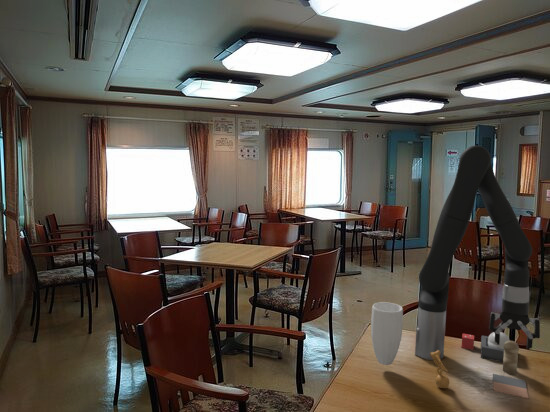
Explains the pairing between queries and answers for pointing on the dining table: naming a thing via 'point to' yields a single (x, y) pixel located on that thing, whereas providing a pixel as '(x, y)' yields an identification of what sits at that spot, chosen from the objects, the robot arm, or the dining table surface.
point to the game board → (510, 386)
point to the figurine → (441, 379)
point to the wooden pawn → (510, 357)
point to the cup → (386, 331)
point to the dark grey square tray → (491, 351)
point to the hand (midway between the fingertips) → (512, 346)
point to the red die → (467, 341)
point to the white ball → (503, 340)
